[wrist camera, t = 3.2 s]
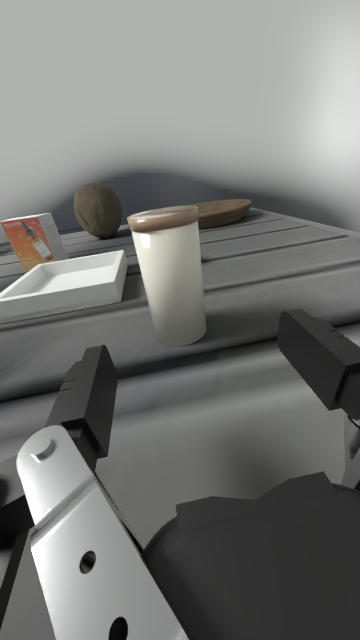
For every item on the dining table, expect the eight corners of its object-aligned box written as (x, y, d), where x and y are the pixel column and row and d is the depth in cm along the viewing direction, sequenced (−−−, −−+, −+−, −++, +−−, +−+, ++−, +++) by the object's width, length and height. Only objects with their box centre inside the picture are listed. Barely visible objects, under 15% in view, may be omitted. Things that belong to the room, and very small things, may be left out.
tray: (-1, 323, 29) (-14, 304, 28) (45, 279, 43) (37, 264, 41) (120, 302, 30) (114, 281, 28) (127, 265, 43) (123, 249, 42)
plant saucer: (139, 229, 78) (136, 215, 75) (202, 212, 93) (201, 200, 90) (202, 237, 56) (200, 217, 54) (271, 213, 71) (272, 197, 69)
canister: (156, 351, 20) (124, 223, 14) (153, 320, 25) (129, 213, 19) (213, 340, 21) (205, 209, 15) (201, 312, 25) (191, 203, 19)
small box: (24, 272, 49) (-3, 221, 43) (38, 264, 54) (15, 217, 48) (59, 268, 48) (36, 215, 43) (70, 260, 53) (50, 212, 48)
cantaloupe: (133, 235, 69) (119, 178, 61) (86, 245, 65) (65, 186, 57) (123, 229, 80) (111, 181, 72) (83, 238, 76) (65, 187, 68)
